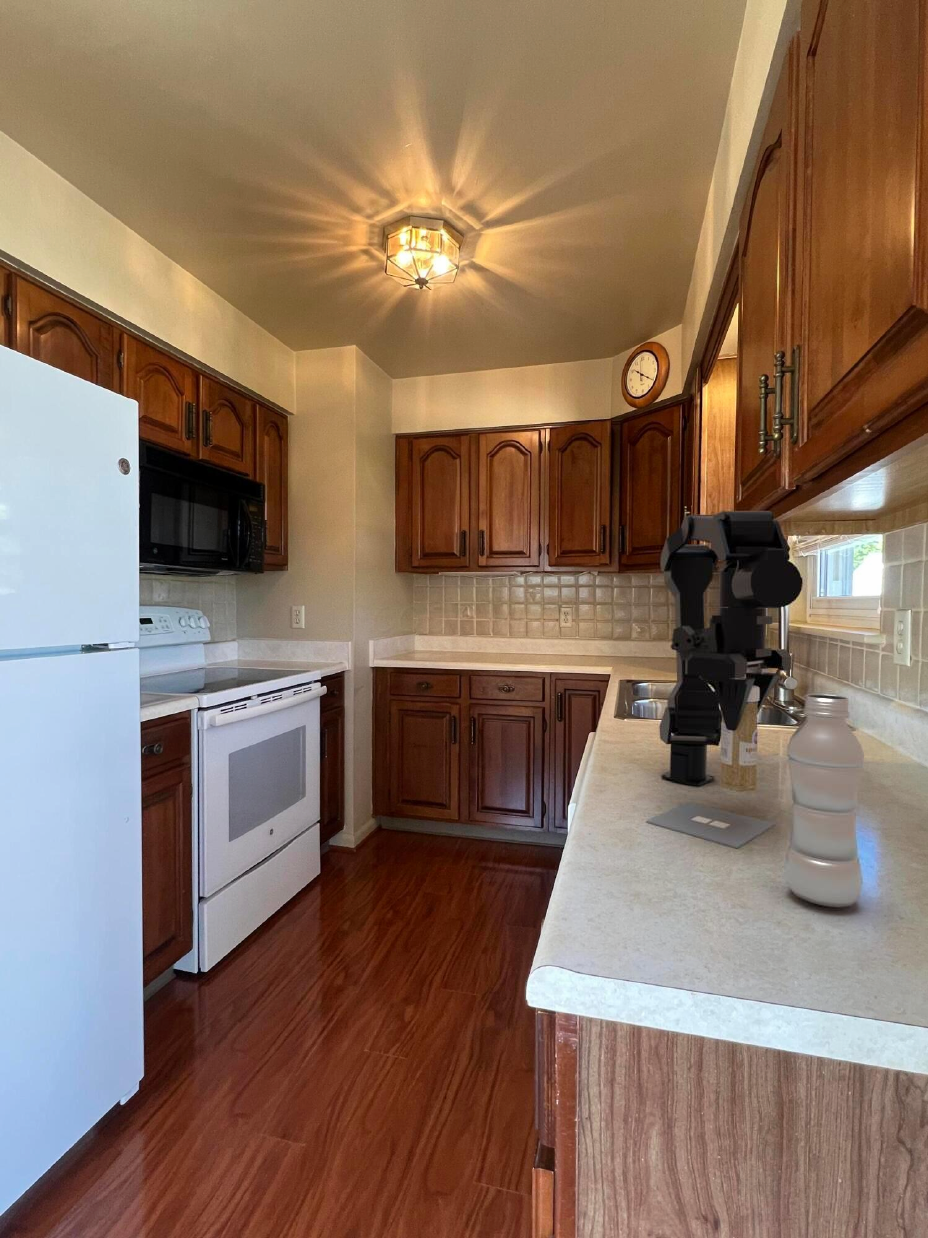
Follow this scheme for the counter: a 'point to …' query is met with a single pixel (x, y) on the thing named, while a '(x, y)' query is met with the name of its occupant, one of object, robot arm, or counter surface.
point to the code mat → (712, 824)
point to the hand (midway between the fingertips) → (739, 727)
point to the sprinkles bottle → (741, 749)
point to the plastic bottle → (824, 805)
